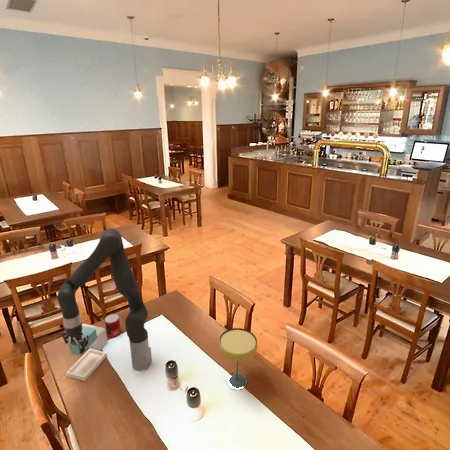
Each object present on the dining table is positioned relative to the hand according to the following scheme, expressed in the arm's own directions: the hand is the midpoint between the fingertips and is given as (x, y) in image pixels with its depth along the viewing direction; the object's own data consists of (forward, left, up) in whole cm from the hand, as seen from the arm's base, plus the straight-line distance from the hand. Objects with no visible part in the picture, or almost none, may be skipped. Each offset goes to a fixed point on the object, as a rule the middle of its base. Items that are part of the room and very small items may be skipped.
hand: (77, 351), depth 154 cm
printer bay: (+8, -19, -13) cm, 25 cm away
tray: (0, -4, -14) cm, 14 cm away
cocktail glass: (-77, -16, -14) cm, 80 cm away
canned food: (+2, -30, -14) cm, 33 cm away
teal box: (0, -5, -1) cm, 5 cm away
